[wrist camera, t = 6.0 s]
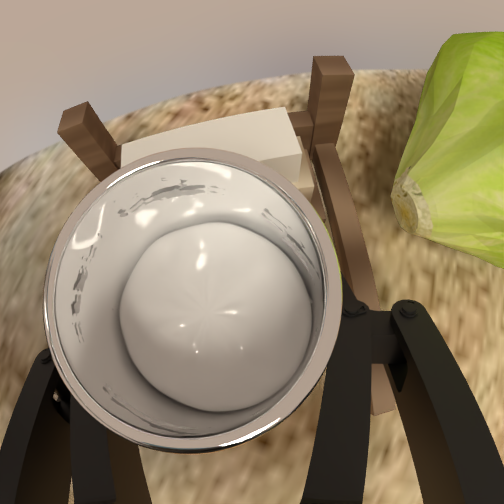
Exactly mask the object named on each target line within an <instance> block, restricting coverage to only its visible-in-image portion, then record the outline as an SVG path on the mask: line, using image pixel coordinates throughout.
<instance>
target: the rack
mask: <svg viewBox="0 0 504 504" xmlns="http://www.w3.org/2000/svg"><path fill="white" fill-rule="evenodd" d="M354 75H355V74H354V73H353V71H352V69H351V68H350V66H349V64H348V63H347V61H346V59H345V58H344V56H313V64H312V73H311V82H310V91H309V100H308V108H307V111H301V112H290V113H287V114H288V116H289V119H290V121H291V124H292V127H293V129H294V132H295V135H296V137H297V136H300V138H301V142H302V145H303V148H304V152H305V155H306V158H307V162H308V165H309V169H310V172H311V176H312V179H313V183H314V190H313V194H312V198H311V202H310V203H311V204H312V206H313V207H314V208H315V210H316V211H317V213H318V214H319V216H320V217H321V219H322V221H323V223H325V220H326V216H325V212H324V208H323V204H322V201H321V197H320V193H319V190H318V186H317V182H316V179H315V175H314V172H313V168H312V165H311V162H310V160H312V161H313V164H314V168H315V171H316V174H317V178H318V181H319V185H320V189H321V192H322V196H323V199H324V203H325V207H326V211H327V214H328V218H329V222H330V226H331V230H332V234H333V238H334V242H335V247H336V251H337V255H338V259H339V264H340V268H341V272H342V274H343V276H344V278H345V279H346V281H347V283H348V284H349V286H350V288H351V289H352V291H353V293H354V295H355V296H356V298H357V300H359V301H362V302H364V303H365V304H366V305H368V306H369V309H370V310H374V311H381V310H380V305H379V300H378V295H377V291H376V286H375V282H374V277H373V273H372V269H371V265H370V261H369V257H368V253H367V249H366V245H365V241H364V238H363V234H362V230H361V227H360V223H359V220H358V216H357V213H356V209H355V206H354V203H353V199H352V196H351V193H350V190H349V186H348V183H347V180H346V177H345V174H344V171H343V168H342V165H341V162H340V159H339V157H338V154H337V151H336V148H335V147H336V144H337V140H338V136H339V133H340V129H341V125H342V122H343V118H344V114H345V110H346V107H347V103H348V99H349V95H350V91H351V87H352V83H353V79H354ZM57 133H58V134H59V135H60V137H61V138H62V139H63V140H64V141H65V142H66V144H67V145H68V146H69V147H70V148H71V149H72V150H73V152H74V153H75V154H76V155H77V156H78V157H79V158H80V160H81V161H82V162H83V163H84V164H85V165H86V166H87V167H88V168H89V170H90V171H91V172H92V173H93V174H94V175H95V176H96V177H97V178H98V180H99V181H100V182H101V181H103V180H104V179H105V178H107V177H108V176H109V175H111V174H112V173H114V172H115V171H117V170H119V169H120V168H121V150H122V145H119V146H117V144H116V143H115V141H114V140H113V138H112V137H111V135H110V134H109V132H108V131H107V129H106V128H105V126H104V125H103V124H102V122H101V121H100V119H99V118H98V116H97V114H96V113H95V111H94V110H93V108H92V107H91V105H90V104H89V102H88V101H87V102H85V103H82V104H80V105H77V106H74V107H72V108H70V109H67V110H65V111H63V115H62V118H61V121H60V124H59V128H58V131H57ZM395 409H396V407H395V398H394V394H393V391H392V388H391V385H390V383H389V380H388V377H387V374H386V371H385V368H384V365H383V364H372V378H371V414H372V415H373V416H376V415H379V414H382V413H386V412H389V411H392V410H395Z"/></svg>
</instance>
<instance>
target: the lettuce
mask: <svg viewBox="0 0 504 504" xmlns="http://www.w3.org/2000/svg"><path fill="white" fill-rule="evenodd" d="M391 201H392V205H393V208H394V212H395V215H396V218H397V221H398V223H399V225H400V227H401V228H402V229H404V230H405V231H406V232H408V233H411V234H414V235H417V236H420V237H423V238H425V239H428V240H431V241H434V242H436V243H439V244H442V245H444V246H447V247H449V248H452V249H456V250H459V251H462V252H465V253H468V254H471V255H473V256H476V257H478V258H480V259H483V260H485V261H487V262H489V263H491V264H493V265H495V266H497V267H500V268H503V269H504V32H476V33H462V34H453V35H452V36H451V37H450V38H449V39H448V40H447V41H446V42H445V43H444V44H443V45H442V47H441V49H440V50H439V52H438V54H437V56H436V58H435V60H434V62H433V64H432V65H431V67H430V69H429V71H428V72H427V75H426V79H425V83H424V87H423V91H422V94H421V98H420V102H419V107H418V112H417V116H416V120H415V124H414V126H413V129H412V132H411V134H410V137H409V139H408V142H407V144H406V147H405V150H404V153H403V156H402V159H401V161H400V164H399V167H398V170H397V173H396V176H395V180H394V184H393V188H392V192H391Z"/></svg>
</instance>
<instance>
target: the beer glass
mask: <svg viewBox="0 0 504 504" xmlns="http://www.w3.org/2000/svg"><path fill="white" fill-rule="evenodd" d="M310 299H311V300H310ZM311 302H312V303H311ZM341 315H342V279H341V272H340V266H339V262H338V258H337V254H336V251H335V248H334V245H333V242H332V240H331V237H330V235H329V233H328V230H327V228H326V226H325V225H324V223H323V221H322V219H321V217H320V216H319V214H318V213H317V211H316V210H315V208H314V207H313V206H312V204H311V203H310V202H309V201H308V199H307V198H306V197H305V196H304V195H303V194H302V193H301V191H300V190H298V189H297V188H296V187H295V186H294V185H293V184H292V183H291V182H290V181H289V180H287V179H286V178H285V177H284V176H282V175H281V174H279V173H278V172H276V171H275V170H273V169H272V168H270V167H268V166H266V165H265V164H263V163H261V162H259V161H256V160H254V159H252V158H249V157H247V156H244V155H241V154H237V153H234V152H230V151H225V150H220V149H212V148H180V149H173V150H167V151H163V152H159V153H155V154H152V155H149V156H146V157H143V158H141V159H138V160H136V161H134V162H132V163H130V164H128V165H126V166H124V167H122V168H120V169H119V170H117V171H115V172H114V173H112V174H111V175H109V176H108V177H107V178H105V179H104V180H103V181H101V182H100V183H99V184H98V185H97V186H96V187H94V188H93V189H92V190H91V191H90V192H89V193H88V194H87V195H86V196H85V197H84V198H83V200H82V201H81V202H80V203H79V204H78V206H77V207H76V208H75V209H74V211H73V212H72V213H71V215H70V216H69V218H68V219H67V221H66V223H65V224H64V226H63V228H62V230H61V232H60V233H59V235H58V238H57V240H56V242H55V244H54V247H53V249H52V252H51V255H50V258H49V262H48V266H47V270H46V274H45V280H44V287H43V321H44V328H45V334H46V339H47V343H48V346H49V350H50V353H51V356H52V359H53V361H54V364H55V366H56V368H57V370H58V372H59V374H60V376H61V378H62V380H63V382H64V383H65V385H66V386H67V388H68V389H69V391H70V392H71V394H72V395H73V397H74V398H75V399H76V400H77V402H78V403H79V404H80V405H81V406H82V407H83V408H84V409H85V410H86V411H87V412H88V413H89V414H90V415H91V416H92V417H93V418H94V419H95V420H96V421H98V422H99V423H100V424H101V425H103V426H104V427H106V428H107V429H108V430H110V431H111V432H113V433H115V434H116V435H118V436H120V437H122V438H124V439H126V440H128V441H130V442H132V443H134V444H137V445H140V446H142V447H146V448H149V449H152V450H156V451H161V452H167V453H174V454H205V453H213V452H218V451H223V450H227V449H231V448H234V447H237V446H240V445H242V444H245V443H247V442H250V441H252V440H254V439H256V438H258V437H260V436H262V435H264V434H265V433H267V432H269V431H270V430H272V429H273V428H275V427H276V426H277V425H279V424H280V423H281V422H283V421H284V420H285V419H286V418H288V417H289V416H290V415H291V414H292V413H293V412H294V411H295V410H296V409H297V408H298V407H299V406H300V405H301V404H302V403H303V402H304V400H305V399H306V398H307V397H308V396H309V394H310V393H311V392H312V390H313V389H314V387H315V386H316V384H317V383H318V381H319V380H320V378H321V376H322V375H323V373H324V371H325V369H326V367H327V365H328V363H329V360H330V358H331V355H332V353H333V350H334V347H335V344H336V340H337V337H338V333H339V328H340V322H341Z"/></svg>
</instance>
